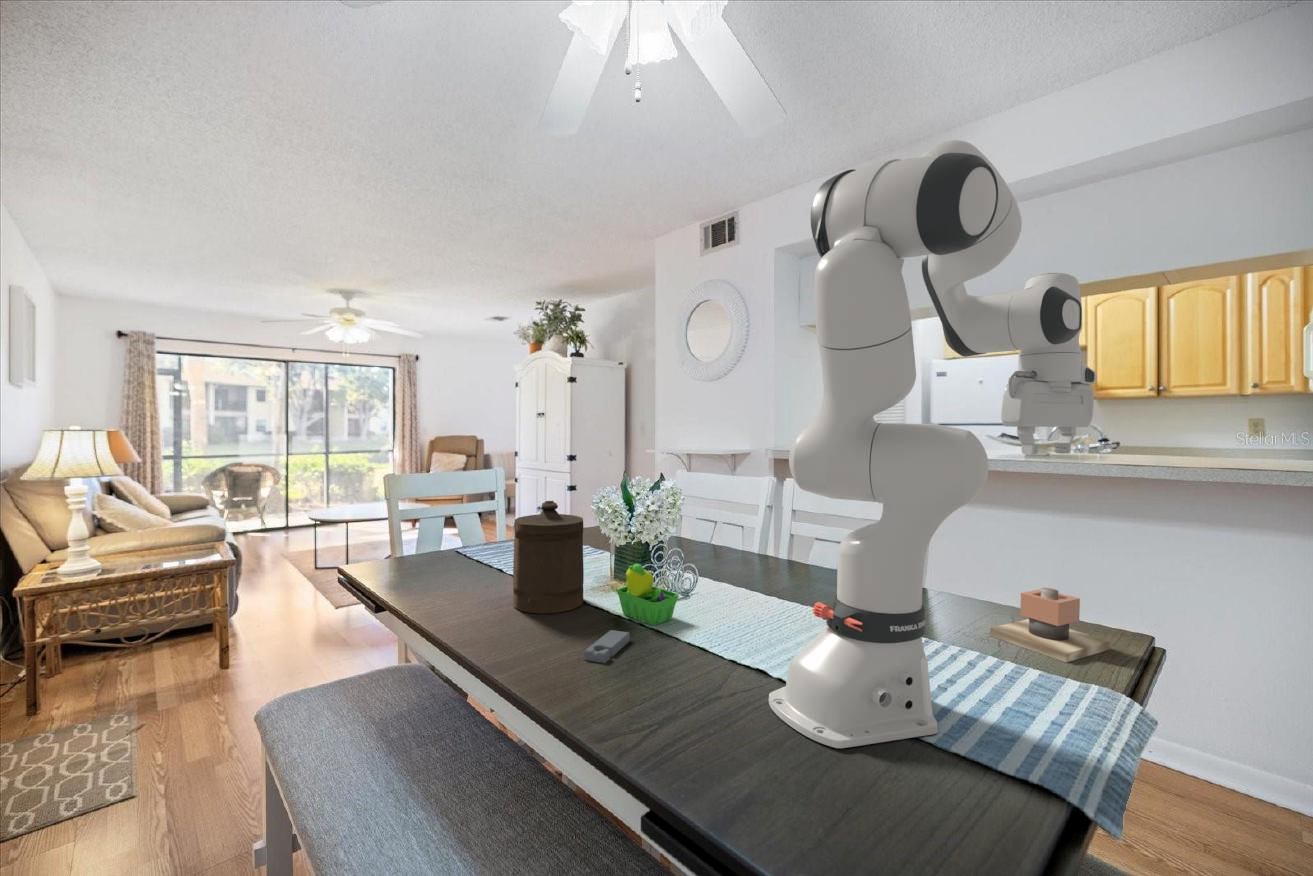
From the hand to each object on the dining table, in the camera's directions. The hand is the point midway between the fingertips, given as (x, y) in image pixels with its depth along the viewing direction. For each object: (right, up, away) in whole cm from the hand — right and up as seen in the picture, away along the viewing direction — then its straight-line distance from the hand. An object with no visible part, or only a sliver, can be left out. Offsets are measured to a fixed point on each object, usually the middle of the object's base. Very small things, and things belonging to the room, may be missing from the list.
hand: (1046, 454), depth 97 cm
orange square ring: (+4, -30, +5) cm, 30 cm away
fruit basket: (-69, -33, +16) cm, 78 cm away
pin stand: (+4, -34, +5) cm, 35 cm away
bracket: (-75, -34, 0) cm, 82 cm away
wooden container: (-90, -33, +25) cm, 99 cm away
